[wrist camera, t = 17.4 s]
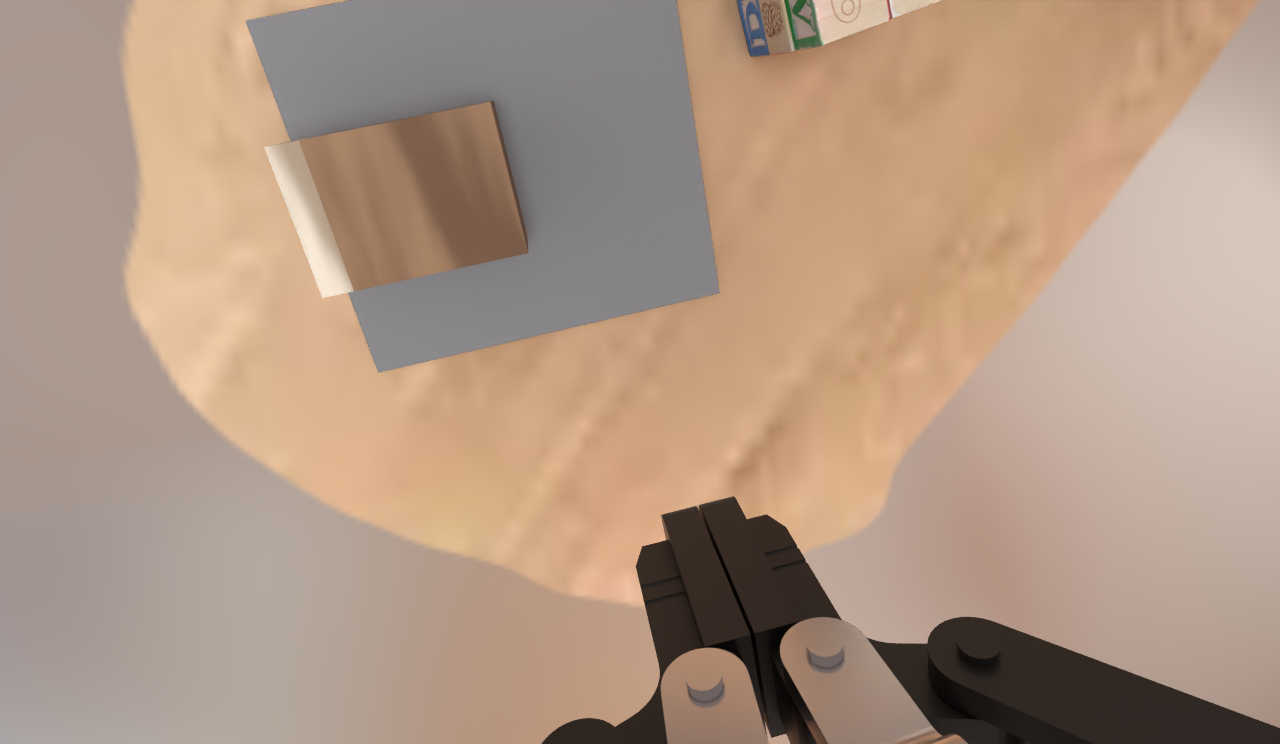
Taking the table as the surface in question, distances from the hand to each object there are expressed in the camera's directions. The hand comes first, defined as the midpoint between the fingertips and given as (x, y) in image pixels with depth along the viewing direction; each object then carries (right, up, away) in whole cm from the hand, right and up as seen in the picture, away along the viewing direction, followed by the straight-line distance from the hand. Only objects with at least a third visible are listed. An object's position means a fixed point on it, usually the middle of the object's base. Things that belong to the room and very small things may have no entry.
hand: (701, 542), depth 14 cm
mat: (-8, +14, +22) cm, 28 cm away
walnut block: (-8, +13, +20) cm, 25 cm away
